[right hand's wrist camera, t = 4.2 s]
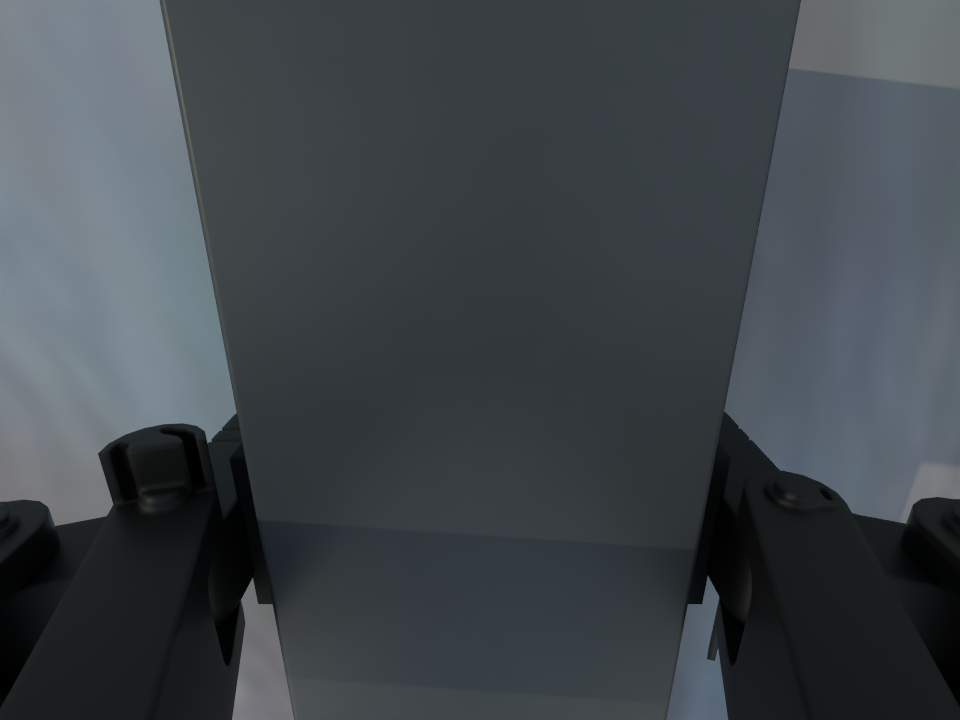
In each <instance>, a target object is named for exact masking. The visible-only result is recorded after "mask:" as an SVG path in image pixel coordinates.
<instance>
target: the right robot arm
mask: <svg viewBox="0 0 960 720" xmlns="http://www.w3.org/2000/svg"><path fill="white" fill-rule="evenodd" d="M738 427H739V426H738V425H737V424H736V423H735V422H734V421H733V420H732V419H731V418H730V416H729V415H728V414H727V413H726V412H724V413H723V418H722V423H721V429H720V434H719V439H718V445H717V450H716V455H715V461H714V466H713V471H712V477H711V482H710V487H709V493H708V498H707V503H706V509H705V514H704V519H703V525H702V530H701V535H700V541H699V546H698V551H697V557H696V562H695V567H694V573H693V578H692V583H691V589H690V594H689V599H688V604H702V601H703V596H704V591H705V586H706V581H707V576H709V578H710V580H711V582H712V584H713V586H714V587H715V589H716V591H717V593H718V595H719V597H720V598H719V602H718V607H717V612H716V616H715V621H714V626H713V630H712V635H711V639H710V644H709V649H708V656H707V659H709V660H714V661H715V657H716V653H717V649H718V648H719V656H720V663H721V670H722V677H723V684H724V692H725V699H726V706H727V713H728V720H960V499H948V498H940V497H935V498H925V499H921V500H919V501H918V502H916V503H915V504H914V505H913V507H912V510H911V512H910V515H909V518H908V521H907V523H906V524H904V523H899V522H893V521H888V520H883V519H877V518H872V517H867V516H861V515H857V514H853V513H851V511H850V509H849V507H848V505H847V504H846V503H845V501H844V500H843V499H842V498H841V497H840V496H839V495H838V494H837V493H836V492H835V491H833V490H832V489H830V488H829V487H827V486H825V485H824V484H822V483H820V482H818V481H816V480H813V479H811V478H808V477H806V476H803V475H799V474H795V473H790V472H786V471H780V470H779V469H778V468H777V467H776V466H775V465H774V464H773V463H772V462H771V460H770V459H769V458H768V457H767V456H766V455H765V454H764V453H763V452H762V451H761V450H760V449H759V448H758V447H757V445H756V444H755V443H754V442H753V441H752V440H749V437H748V436H747V435H746V434H745V433H744V432H743V430H742V429H739V428H738ZM98 455H99V458H100V461H101V464H102V468H103V471H104V474H105V478H106V481H107V484H108V488H109V491H110V494H111V497H112V501H113V504H114V505H113V506H112V508H111V510H110V512H109V514H108V515H107V516H106V517H102V518H96V519H91V520H86V521H80V522H75V523H70V524H65V525H59V526H55V525H54V522H53V519H52V516H51V514H50V511H49V508H48V507H47V506H46V505H44V504H43V503H41V502H40V501H31V500H18V501H10V502H0V720H232V715H233V708H234V700H235V693H236V686H237V679H238V671H239V664H240V657H241V650H242V643H243V635H244V628H245V618H244V612H243V607H242V602H241V598H242V597H243V595H244V593H245V591H246V589H247V587H248V585H249V583H250V582H251V580H252V578H253V580H254V585H255V590H256V595H257V600H258V604H273V602H272V597H271V592H270V586H269V581H268V576H267V570H266V565H265V560H264V554H263V549H262V544H261V538H260V533H259V528H258V522H257V517H256V512H255V506H254V501H253V496H252V490H251V485H250V480H249V474H248V469H247V464H246V458H245V453H244V448H243V442H242V437H241V432H240V426H239V421H238V416H237V414H235V415H234V416H233V417H232V418H231V419H230V420H229V421H228V422H227V423H226V425H225V426H224V427H223V428H222V431H219V432H218V433H217V434H216V435H215V436H214V438H213V439H212V442H209V443H208V444H207V440H206V435H205V431H203V430H202V429H200V428H199V427H197V426H194V425H188V424H164V425H159V426H154V427H148V428H144V429H141V430H138V431H135V432H132V433H129V434H126V435H124V436H122V437H120V438H119V439H117V440H115V441H113V442H111V443H109V444H108V445H107V446H106V447H105V448H104V449H103V450H101V451H100V452H99V453H98Z"/></svg>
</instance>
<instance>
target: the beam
mask: <svg viewBox="0 0 960 720" xmlns="http://www.w3.org/2000/svg"><path fill="white" fill-rule="evenodd" d="M800 2H801V0H160V5H161V10H162V15H163V21H164V26H165V31H166V37H167V42H168V47H169V53H170V58H171V63H172V69H173V74H174V79H175V85H176V90H177V95H178V101H179V106H180V111H181V117H182V122H183V128H184V133H185V138H186V144H187V149H188V154H189V160H190V165H191V170H192V176H193V181H194V186H195V192H196V197H197V202H198V208H199V213H200V218H201V224H202V229H203V234H204V240H205V245H206V250H207V256H208V261H209V266H210V272H211V277H212V282H213V288H214V293H215V298H216V304H217V309H218V314H219V320H220V325H221V330H222V336H223V341H224V346H225V352H226V357H227V362H228V368H229V373H230V378H231V384H232V389H233V394H234V400H235V405H236V410H237V416H238V421H239V426H240V432H241V437H242V442H243V448H244V453H245V458H246V464H247V469H248V474H249V480H250V485H251V490H252V496H253V501H254V506H255V512H256V517H257V522H258V528H259V533H260V538H261V544H262V549H263V554H264V560H265V565H266V570H267V576H268V581H269V586H270V592H271V597H272V602H273V608H274V613H275V618H276V624H277V629H278V634H279V640H280V645H281V650H282V656H283V661H284V666H285V672H286V677H287V682H288V688H289V693H290V698H291V704H292V709H293V714H294V720H666V717H667V711H668V706H669V701H670V695H671V690H672V685H673V679H674V674H675V669H676V663H677V658H678V653H679V647H680V642H681V637H682V631H683V626H684V621H685V615H686V610H687V605H688V599H689V594H690V589H691V583H692V578H693V573H694V567H695V562H696V557H697V551H698V546H699V541H700V535H701V530H702V525H703V519H704V514H705V509H706V503H707V498H708V493H709V487H710V482H711V477H712V471H713V466H714V461H715V455H716V450H717V445H718V439H719V434H720V429H721V423H722V418H723V413H724V407H725V402H726V397H727V391H728V386H729V381H730V375H731V370H732V365H733V359H734V354H735V349H736V343H737V338H738V333H739V327H740V322H741V317H742V312H743V306H744V301H745V296H746V290H747V285H748V280H749V274H750V269H751V264H752V258H753V253H754V248H755V242H756V237H757V232H758V226H759V221H760V216H761V210H762V205H763V200H764V194H765V189H766V184H767V178H768V173H769V168H770V162H771V157H772V152H773V146H774V141H775V136H776V130H777V125H778V120H779V114H780V109H781V104H782V98H783V93H784V88H785V82H786V77H787V72H788V66H789V61H790V56H791V50H792V45H793V40H794V34H795V29H796V24H797V18H798V13H799V8H800Z"/></svg>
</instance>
